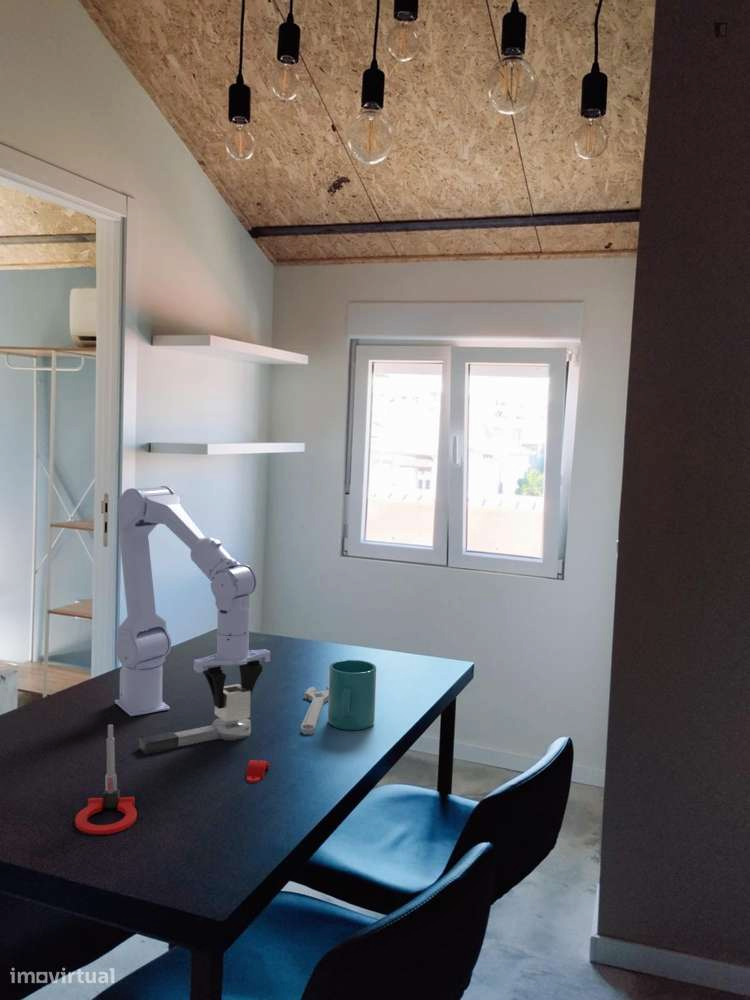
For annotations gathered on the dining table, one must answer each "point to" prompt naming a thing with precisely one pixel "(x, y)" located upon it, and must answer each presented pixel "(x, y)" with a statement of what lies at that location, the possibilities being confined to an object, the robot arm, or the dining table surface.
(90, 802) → the tow hook
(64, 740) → the dining table surface
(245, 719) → the ratchet
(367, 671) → the cup
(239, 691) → the socket
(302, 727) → the adjustable wrench
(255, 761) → the pipe clamp
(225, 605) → the robot arm
